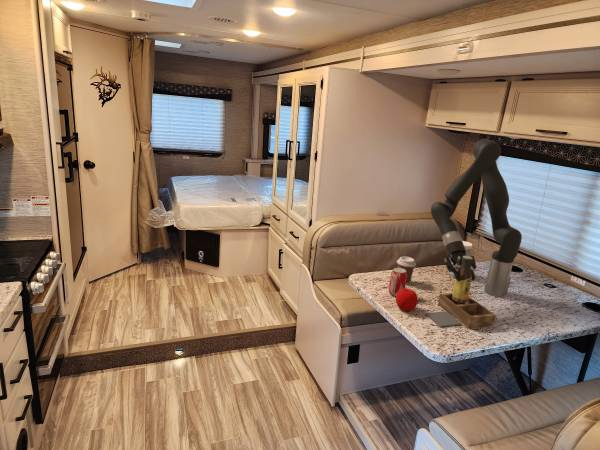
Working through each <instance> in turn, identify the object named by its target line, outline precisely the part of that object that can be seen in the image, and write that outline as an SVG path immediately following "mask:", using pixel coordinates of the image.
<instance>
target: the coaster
mask: <svg viewBox="0 0 600 450" xmlns="http://www.w3.org/2000/svg"><path fill="white" fill-rule="evenodd" d="M424 315H425V316H426V317H428V319H430V320H431V321H432V322H433V323H434V324H436V326H437V327H439V328H446V327H447V328H448V327H456V326H461V325H462V323H460V322H459V321H458V320H457V319H455V318H454V317H453V316H452V315H450V314H449V313H448V312H447V311H445V310H443V311H436V312H425V314H424Z"/></svg>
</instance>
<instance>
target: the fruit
mask: <svg viewBox="0 0 600 450" xmlns="http://www.w3.org/2000/svg"><path fill="white" fill-rule="evenodd" d="M418 300H419V297H418V295H417V292H415V290H413V289H410V288H408V287H407V286H405V289H401V290H400V291H399V292H398V293H397V295H396V296H395V303H396V306H397V307H398V309H400V310H402V311H404V312H405V311H406V312H410V311H413V310H414V309H415V308H416V307H417V306H418V303H419V301H418Z"/></svg>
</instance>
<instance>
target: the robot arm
mask: <svg viewBox="0 0 600 450" xmlns="http://www.w3.org/2000/svg"><path fill="white" fill-rule="evenodd" d="M472 151H473V152H472V153H473V157H474V158H475V159H474V160H473V162H472V163H471V165H470V166H469V167H468V168H467V169H466V170H465V171H464V172H463V173H461V174H460V175H459V176H458V177H457V178H456V179H455V180H454V181H453V182H452V183H451V185H450V186H449V187H448V189H447V190H446V192H445V193H444V197H445V201H444V202H441V201H437V202H434V203H433V204H432V205H431V207H430V214H431V217H432V219H433V220H434V222H435V224H436V226H437V227H438V228H439V232H440V234H441V238H442V242H443V245H444V248H445V250H446V254H447V256H446V257H445V258H444V259H443V262H444V264H445V266H446V269H447V272H448V271H449V272H453V273H454V275H455V277H454V278H456V280H457V281H461V280H462V278H461V275H460V273H459V271H458V269H459V266H461V264H462V257H463V256H467V255H466V253H465V251H466V250H465V247H464V244H463V242H462V241H463V239H462V237H461V235H460V233H459V230H458V228H457V225H456V223H455V222H454V220H452V219H451V217H453V215H454V213H455V211H456V210H457V207H458V205H459V203H460V201H461V200H462V198H463V197H464V196H465V195H466V193H467V192H468V191H469V190H470V188H471V187H472V186H473V184H474V183H475V182H476V181H477V180H478V179H479V178H481V184H482V189H483V193H484V198H485V200H486V201H485V203H486V204H487V208H488V212H489V216H490V221H491V229H492V237H493V238H494V240H495V242H497V243H498V244H499V245H500V246H499V249H498V250H495V251H493V252H492V254H491V259H490V261H489V262H490V263H489V266H488V267H489V268H488V271H487V275H486V276H487V277H486V281H485V283H484V289H483V290H484V293H486V294H488V295H489V296H493V297H495V298H496V297H498V298H505V296H507V295H508V291H509V288H510V284H511V279H512V276H511V272H512V269H513V264H514V260H515V259H516V257H517V256H518V253H519V250H520V247H521V243H522V238H523V235H522V233H521V231H519V230H518V229H517V228H515V227H513V226H511V225H510V222H509V220H508V216H507V213H508V212H507V211H508V208H509V204H510V196H509V192H508V188H507V187H508V186H507V184H506V182H505V180H504V178H503V176H502V173H501V172H500V170H499V168H498V165H497V164H498V163H497V160H498V159H499V158H500V156H501V153H502V148H501V146H500V145H499V143H497V142H495V141H493V140H491V139H488V138H481V139H478V141H476V142H475V144H474V146H473V148H472ZM470 257H472V258H473V260H472V263H471V272H472V280H471V281H474V280H475V279H476V274H475V272H474V270H475V269H477V264H476V259H475V257H474V255H472V256H470ZM451 262H452V263H453V265H452V263H451ZM449 272H448V273H449Z"/></svg>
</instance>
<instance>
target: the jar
mask: <svg viewBox="0 0 600 450" xmlns="http://www.w3.org/2000/svg"><path fill="white" fill-rule="evenodd" d="M462 242H463V244H464V247H465V250H466V251H465V253H466V255H467V256H473V253H472V249H473V244H472V243H471V242H469V241H465V240H462ZM451 263H452V262H451ZM452 265H453V263H452ZM460 267H461V266H459V268H460ZM447 272H448V274H449V276H451V277H453V278H455V275H454V273H453V272H449V271H448V270H447Z"/></svg>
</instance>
